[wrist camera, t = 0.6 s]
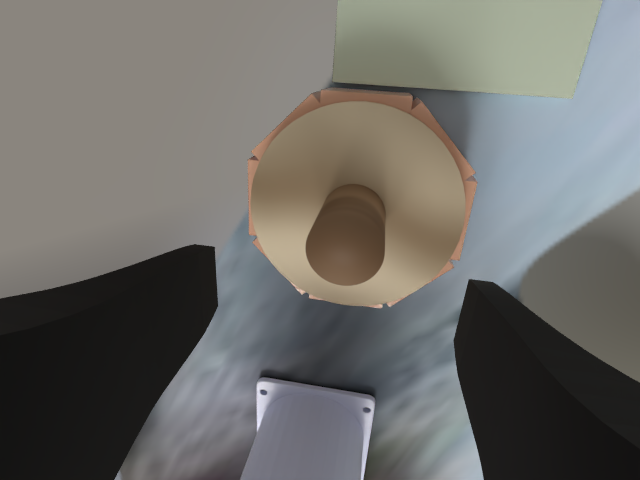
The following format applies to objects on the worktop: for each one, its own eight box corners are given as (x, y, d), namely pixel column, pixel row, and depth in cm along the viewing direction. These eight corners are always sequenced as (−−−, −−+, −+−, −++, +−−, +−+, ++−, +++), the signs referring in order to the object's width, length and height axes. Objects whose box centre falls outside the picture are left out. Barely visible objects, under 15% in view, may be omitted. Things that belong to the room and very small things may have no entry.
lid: (441, 311, 19) (454, 375, 15) (255, 285, 20) (222, 339, 16) (486, 110, 15) (520, 124, 11) (253, 92, 16) (209, 99, 12)
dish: (438, 286, 22) (445, 317, 19) (266, 264, 23) (250, 290, 20) (479, 97, 18) (495, 102, 15) (267, 82, 19) (246, 84, 16)
